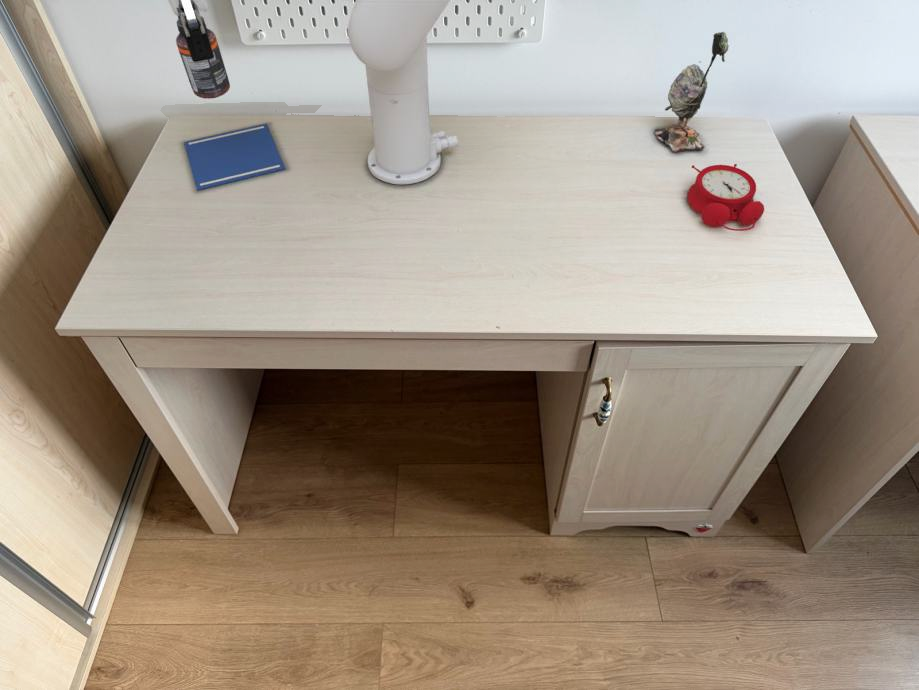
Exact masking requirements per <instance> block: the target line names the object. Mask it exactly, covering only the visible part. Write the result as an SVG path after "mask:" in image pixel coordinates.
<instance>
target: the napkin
mask: <svg viewBox="0 0 919 690" xmlns="http://www.w3.org/2000/svg"><path fill="white" fill-rule="evenodd" d="M183 144H184V147H185V151H186V154H187V158H188V162H189V165H190V169H191V174H192V177H193V180H194V184H195V187H196V191H203V190H206V189H210V188H215V187H219V186H222V185H228V184H231V183H236V182H239V181H240V182H241V181H243V180H247V179H251V178H256V177H260V176H264V175H268V174H273V173H276V172H277V173H278V172H281V171H285V170H286V166H285V165H284V162H283V159H282V157H281V154H280V152H279V150H278V147H277V145H276V143H275V140H274V137H273V136H272V134H271V131H270V129H269V126H268V123H262V124H257V125H252V126H249V127H245V128H240V129H235V130H231V131H226V132H222V133H218V134H213V135H209V136H204V137H200V138H196V139H191V140H185V141H183Z"/></svg>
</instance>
